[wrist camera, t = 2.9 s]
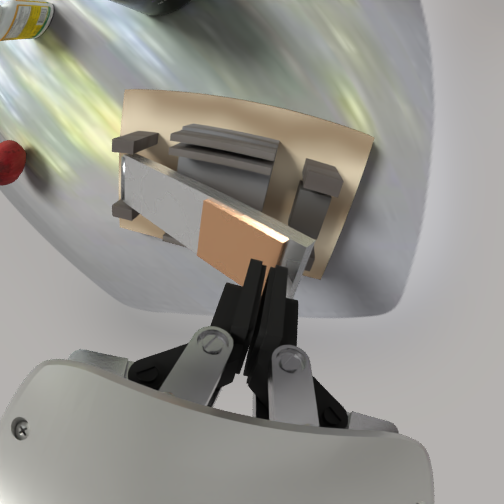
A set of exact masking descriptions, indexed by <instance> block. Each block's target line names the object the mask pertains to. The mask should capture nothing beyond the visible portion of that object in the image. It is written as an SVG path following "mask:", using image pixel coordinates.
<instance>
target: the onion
mask: <svg viewBox="0 0 504 504" xmlns="http://www.w3.org/2000/svg"><path fill="white" fill-rule="evenodd" d="M25 162H26V152H25V150H24V149H23V148H22V146H20V145H19V144H18V143H17V142H15V141H11V140H7V141H3V142H2V143H0V185H7V184H10V183H12V182H14V181H15V180H16V179H17V178H18V177H19V176H20V174H21V173H22V171H23V169H24V166H25Z"/></svg>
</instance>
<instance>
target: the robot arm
mask: <svg viewBox="0 0 504 504" xmlns="http://www.w3.org/2000/svg"><path fill="white" fill-rule="evenodd" d="M262 263H263V261H260V260H256V259H252V258H251V260H250V263H249V267H248V270H247V274H246V277H245V281H244V284H243V287H242V286H238V285H234V284H231V283H226V284H225V287H224V290H223V293H222V295H221V298H220V301H219V304H218V306H217V309H216V312H215V315H214V317H213V320H212V323H211V326H208V327H203V328H201V329H199V330H198V331H197V332H196V333H195V334H194V336H193V337H192V339H191V340H190V342H189V343H187V344H185V345H182V346H179V347H176V348H173V349H170V350H167V351H164V352H161V353H158V354H155V355H152V356H149V357H146V358H143V359H140V360H138V361H136V362H132V361H128V359H127V358H122V357H117V356H112V355H107V354H102V353H97V352H93V351H89V350H77V351H75V352H73V353H72V354H71V355H70V356H69V358H68V360H64V359H53V360H46V361H44V362H42V363H40V364H39V365H37V366H36V367H35V368H34V369H33V370H32V371H31V372H30V373H29V374H28V376H27V377H26V378H25V379H24V381H23V382H22V384H21V385H20V386H19V388H18V389H17V391H16V393H15V394H14V396H13V397H12V399H11V401H10V402H9V404H8V406H7V408H6V410H5V412H4V414H3V416H2V418H1V420H0V504H434V482H433V472H432V467H431V462H430V458H429V455H428V452H427V450H426V449H425V447H424V446H423V445H422V444H421V443H419V442H418V441H416V440H414V439H412V438H410V437H407V436H404V435H401V434H399V433H398V429H397V428H396V426H395V425H394V424H393V423H391V422H389V421H385V420H381V419H378V418H374V417H370V416H367V415H363V414H360V413H356V412H353V411H352V412H351V413H349V412H346V410H345V409H344V408H343V407H342V406H341V405H340V403H339V402H338V401H337V400H336V399H335V398H334V397H333V396H332V395H331V394H330V393H329V392H328V391H327V390H326V389H325V388H324V387H323V386H322V385H321V384H320V383H319V382H318V381H317V380H316V379H315V378H314V377H313V376H312V371H311V364H310V360H309V357H308V356H307V354H306V353H305V352H304V351H303V350H302V349H300V348H298V347H297V325H298V300H294V299H290V298H286V291H287V278H288V268H287V267H283V266H279V265H276V266H275V268H274V267H270V270H269V273H268V276H267V279H266V283H265V286H264V289H263V283H264V278H265V273H266V267H267V266H266V265H262ZM262 289H263V292H262ZM261 294H262V295H261ZM248 348H249V350H248ZM247 351H248V354H247V359H246V364H245V369H244V374H243V375H244V376H248V378H247V383H248V386H249V387H250V389H251V390H252V391H253V392H254V393H253V417H250V416H245V415H241V414H236V413H232V412H227V411H223V410H219V409H216V408H213V406H214V404H215V402H216V400H217V398H218V396H219V394H220V392H221V389H222V387H223V386H225V385H227V384H229V383H231V382H233V379H234V376H235V373H236V374H240V371H241V368H242V365H243V362H244V359H245V356H246V353H247Z"/></svg>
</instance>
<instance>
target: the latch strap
mask: <svg viewBox="0 0 504 504" xmlns="http://www.w3.org/2000/svg"><path fill="white" fill-rule="evenodd" d="M121 199H122V200H123V202H125V203H126V204H127V205H129V206H130V207H131V208H133V209H134V210H135V211H137V212H138V213H140V214H141V215H142V216H144V217H145V218H146V219H148V220H149V221H151V222H152V223H153V224H155V225H156V226H158V227H159V228H160V229H162V230H163V231H165V232H166V233H167V234H169V235H170V236H172V237H173V238H175V239H176V240H177V241H179V242H180V243H182V244H183V245H184V246H186V247H187V248H189V249H190V250H192V251H193V252H195V253H196V254H197V256H198V257H200V258H201V259H203V260H204V261H206V262H207V263H209V264H210V265H211V266H213V267H214V268H216V269H217V270H219V271H220V272H222V273H223V274H225V275H226V276H228V277H229V278H231V279H232V280H234V281H235V282H237V283H238V284H239V285H241V286H242V287H243V284H244V281H245V277H246V274H247V270H248V267H249V263H250V260H251V258H252V259H256V260H260V261H263V263H262V265H266V266H267V267H266V273H265V278H264V283H263V289H264V286H265V283H266V279H267V276H268V273H269V270H270V267H274V268H275V266H276V265H279V266H283V267H287V268H288V278H287V291H286V298H290V299H293V297H294V294H295V292H296V289H297V287H298V284H299V282H300V279H301V277H302V274H303V272H304V269H305V267H306V264H307V262H308V259H309V256H310V254H311V251H312V249H313V246H314V243H315V241H316V240H314V239H312V238H310V237H308V236H306V235H305V234H303V233H301V232H299V231H297V230H295V229H293V228H291V227H289V226H287V225H285V224H284V223H282V222H280V221H278V220H276V219H274V218H272V217H270V216H268V215H266V214H264V213H262V212H260V211H258V210H256V209H254V208H252V207H250V206H248V205H246V204H244V203H242V202H240V201H238V200H236V199H234V198H232V197H230V196H228V195H226V194H223V193H221V192H219V191H217V190H215V189H213V188H211V187H209V186H207V185H205V184H203V183H200V182H198V181H196V180H194V179H192V178H190V177H188V176H185V175H183V174H181V173H179V172H177V171H175V170H172V169H170V168H168V167H166V166H163V165H161V164H159V163H157V162H155V161H152V160H150V159H148V158H145V157H143V156H141V155H139V154H136V153H135V154H124V155H122V156H121ZM263 289H262V292H263ZM261 295H262V294H261Z"/></svg>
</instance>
